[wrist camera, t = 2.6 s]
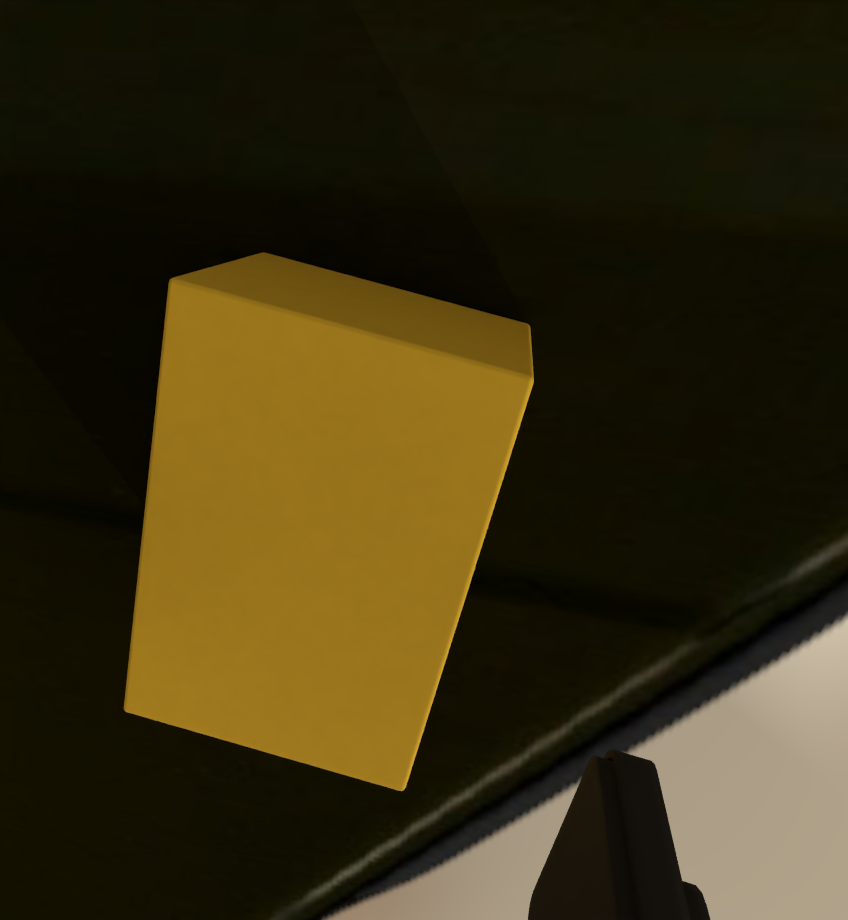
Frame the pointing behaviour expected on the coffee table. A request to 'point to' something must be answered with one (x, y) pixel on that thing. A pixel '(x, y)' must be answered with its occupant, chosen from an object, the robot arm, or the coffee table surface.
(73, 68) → the coffee table surface
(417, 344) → the sponge
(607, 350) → the coffee table surface
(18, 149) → the coffee table surface
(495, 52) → the coffee table surface
